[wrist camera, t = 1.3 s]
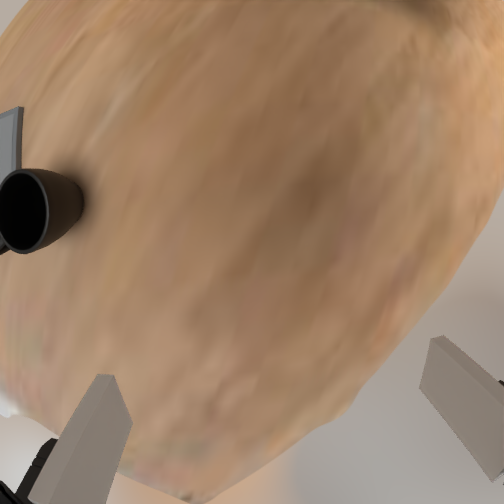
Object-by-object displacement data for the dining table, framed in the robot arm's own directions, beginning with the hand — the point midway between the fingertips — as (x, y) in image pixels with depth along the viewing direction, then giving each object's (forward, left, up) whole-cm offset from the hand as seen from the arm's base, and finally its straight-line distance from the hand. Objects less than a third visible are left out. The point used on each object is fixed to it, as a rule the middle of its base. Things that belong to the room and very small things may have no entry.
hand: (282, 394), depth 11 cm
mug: (-6, -24, -23) cm, 34 cm away
